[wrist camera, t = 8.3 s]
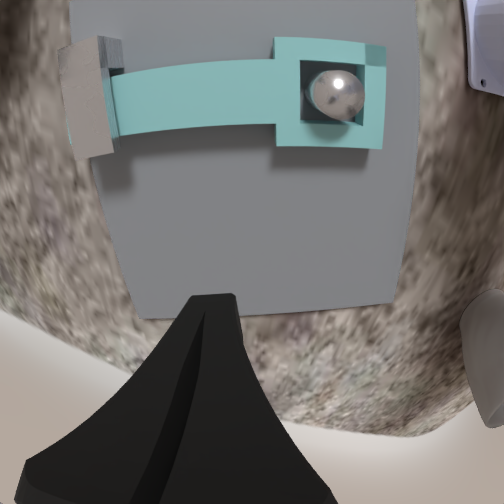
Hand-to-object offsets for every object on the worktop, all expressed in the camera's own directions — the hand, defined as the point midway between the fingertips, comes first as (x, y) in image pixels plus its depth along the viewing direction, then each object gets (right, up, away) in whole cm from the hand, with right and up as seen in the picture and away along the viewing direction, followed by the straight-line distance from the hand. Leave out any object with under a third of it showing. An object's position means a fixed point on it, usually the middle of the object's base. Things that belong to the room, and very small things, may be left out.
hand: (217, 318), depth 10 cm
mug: (+23, -4, +13) cm, 27 cm away
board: (+1, +7, +6) cm, 9 cm away
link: (0, +9, +3) cm, 10 cm away
